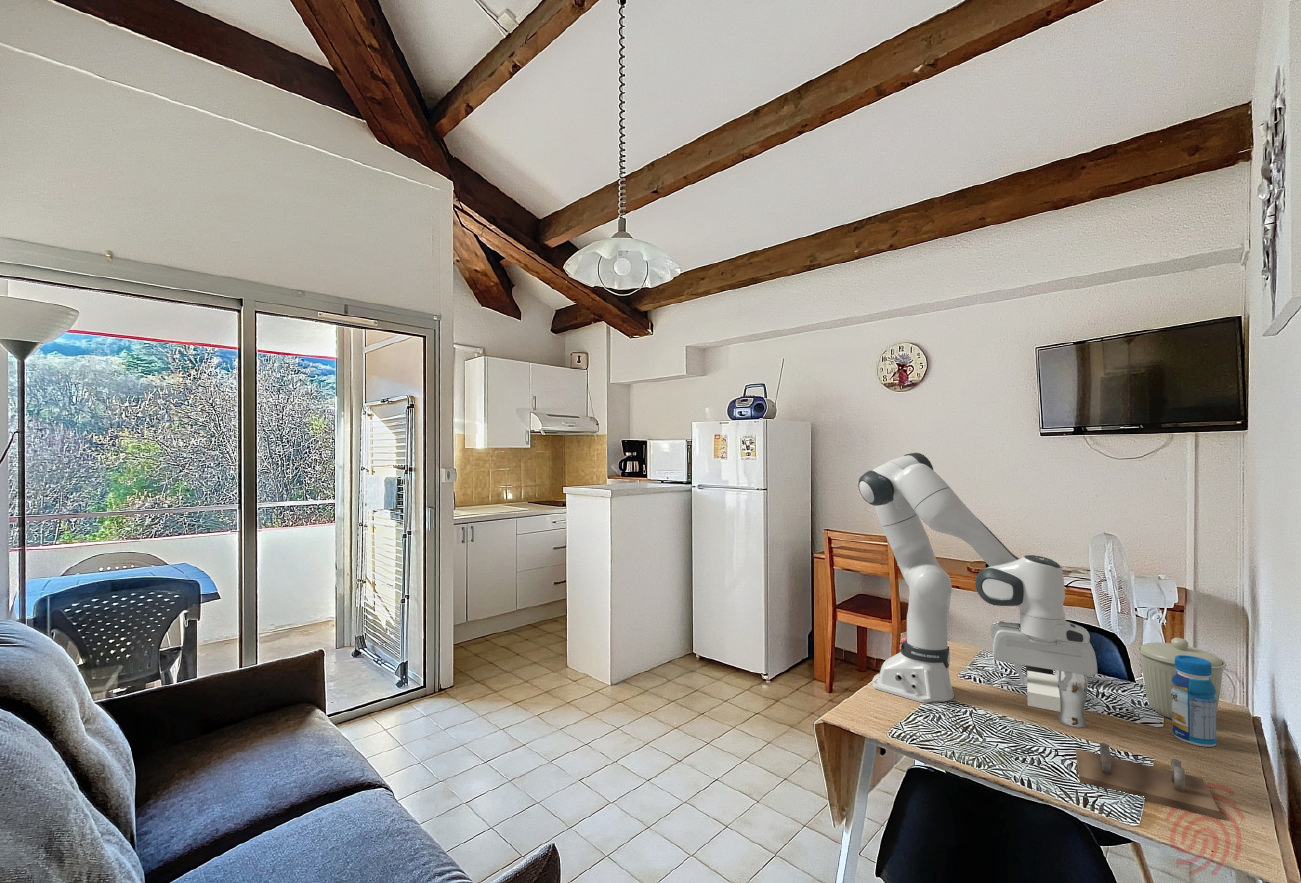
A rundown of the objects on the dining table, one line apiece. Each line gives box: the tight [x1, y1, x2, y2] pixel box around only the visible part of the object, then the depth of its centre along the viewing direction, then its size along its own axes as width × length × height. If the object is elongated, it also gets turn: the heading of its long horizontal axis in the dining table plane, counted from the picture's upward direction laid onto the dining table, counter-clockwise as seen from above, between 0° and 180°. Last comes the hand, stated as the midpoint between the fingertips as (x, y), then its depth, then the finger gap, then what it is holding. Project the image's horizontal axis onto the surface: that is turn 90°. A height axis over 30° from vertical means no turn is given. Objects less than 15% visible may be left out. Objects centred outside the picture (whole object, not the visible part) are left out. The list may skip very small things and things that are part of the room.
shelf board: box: [1026, 671, 1060, 713], centre depth 134 cm, size 6×16×3 cm, turn 147°
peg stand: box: [1075, 742, 1221, 820], centre depth 125 cm, size 22×14×6 cm, turn 56°
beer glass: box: [1054, 670, 1089, 729], centre depth 153 cm, size 7×7×15 cm
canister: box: [1136, 637, 1227, 720], centre depth 158 cm, size 18×18×21 cm
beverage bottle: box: [1171, 655, 1218, 748], centre depth 144 cm, size 8×8×20 cm
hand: (1042, 686), depth 134 cm, fingers closed on shelf board, 6 cm apart
